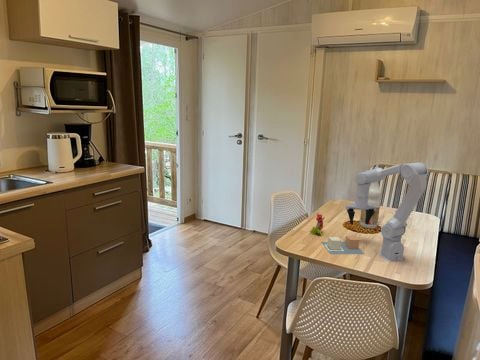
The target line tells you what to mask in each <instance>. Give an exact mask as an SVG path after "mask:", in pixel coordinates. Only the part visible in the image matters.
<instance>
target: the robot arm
mask: <svg viewBox="0 0 480 360" xmlns="http://www.w3.org/2000/svg"><path fill="white" fill-rule="evenodd" d="M429 172H430V171H429V169H428V168H427V165H426V164H425V162H421V161H418V162H412V163H411V162H410V163H409V162H408V163H399V164H396V165H393V166H389V167H387V168H384V169H383V168H382V167H378V166H375V167H373V169H370V170H369V169H366V170H365V171H363V172H362V171H359V172H358V173H356V174H355V178H354V180H355V183H356V191H355V201H354V203H353V204H345V208H344V209H345V210H346V212H347V214H348V218H349V224H350V225H354V217H355V214H356V212H355V210H358V211H359V210H360V211H361V210H366V218H365V224H367V225H368V223H369V221H370V219H371V217H372V216H373V214H374V213H375V211H374V210H376V206H375V205H368V196H369V188H370V185H371V183H372V182H376V181H378V182H380V181H383V180H385V178H386V176H392V175H395V174H396V175H397V174H398V175H399V176H402V177H403V180H404V181H405V182H406V183H407V185H408V186H409V188H408V191H406V194H405V195H404V197H403V199H402V201H401V203H400V205H399V206H398V208H397V210H396V211H395V213H394V215H393V216H392V217H391V218H389V220H387V222H386V223H385V224H384V225H382V226H381V227H380V228H381V229H380V233H381V236H382V245H381V251H377V253H378V255H380V256H381V257H382V258H383V259H385V260H386V261H388V262H389V261H390V262H391V261H392V262H394V261H396V262H397V261H398V262H401V261H405V259H403V257H404V251H405V247H404V245H403V243H402V238H403V236H404V235H405V233H406V230H407V229H406V228H407V226H408V223H407V221H408V219H409V217H410V216H411V214H412V212H413V210H414V209H415V208H416V206H417V204H418V203H419V201H420V199H421V198H422V196H423V195H424V192H426V188H427V180H428V179H427V178H428V175H429Z"/></svg>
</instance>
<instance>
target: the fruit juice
mask: <svg viewBox="0 0 480 360" xmlns="http://www.w3.org/2000/svg"><path fill="white" fill-rule="evenodd" d="M381 197H382V190H381V188H380V184H379V181H376V182H372V183H371V185H370V188H369V196H368V205H375V206H376V210H374V211H375V213H374V214H373V216H372V217H371V219H370V221H369V223H368V225H367V224H365V218H366V210H360V217H359V218H360V219H359V226H360V225H361V226H360V227H362V228H365V229H371V230H372V229H377V228H378V223H379V217H380V208H381V200H380V199H381Z"/></svg>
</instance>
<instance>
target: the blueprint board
mask: <svg viewBox="0 0 480 360" xmlns="http://www.w3.org/2000/svg"><path fill="white" fill-rule="evenodd" d="M320 243H321V244H322V245H323V246H324V248H325V249H326V250H327V252H328V253H329V254H330V255H365V252H363V250H361V248H360V247H359V248H358V249H349V248H348V247H347V246H346V245H345V244H346V241H341V248H340V250H331V249H330V248H329V247H328V241H321V242H320Z"/></svg>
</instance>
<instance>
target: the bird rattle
mask: <svg viewBox="0 0 480 360" xmlns="http://www.w3.org/2000/svg"><path fill="white" fill-rule="evenodd" d="M325 218H326V217H325V216H323V214H319V213H317V214H316V218H315V219H316V221H317V222H316V226H313V227H312V228H311V230H310V231H309V233H311V234H312V235H316V234H318V235H320V236H321V237H322V236H323V233H322V232H321V231H322V230H323V228H324V220H325Z"/></svg>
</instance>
